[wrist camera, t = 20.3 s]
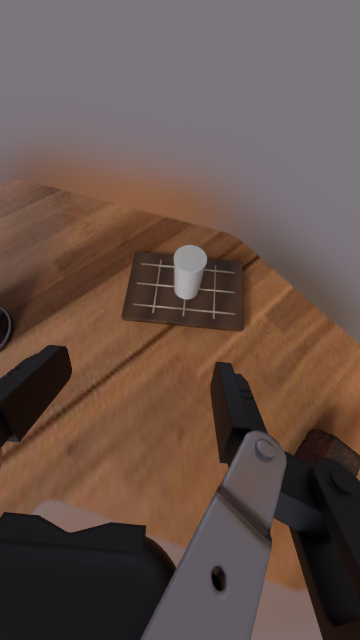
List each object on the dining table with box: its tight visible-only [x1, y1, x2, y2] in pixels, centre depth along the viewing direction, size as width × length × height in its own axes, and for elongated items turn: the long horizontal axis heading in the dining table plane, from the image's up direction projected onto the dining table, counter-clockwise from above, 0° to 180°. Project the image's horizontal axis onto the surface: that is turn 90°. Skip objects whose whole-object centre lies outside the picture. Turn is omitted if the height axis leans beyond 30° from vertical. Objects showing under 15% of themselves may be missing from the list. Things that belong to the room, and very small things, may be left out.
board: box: [122, 252, 244, 332], centre depth 32 cm, size 20×13×2 cm, turn 85°
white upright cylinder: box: [174, 245, 207, 300], centre depth 28 cm, size 4×4×8 cm
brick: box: [295, 429, 360, 477], centre depth 22 cm, size 11×4×5 cm, turn 139°
